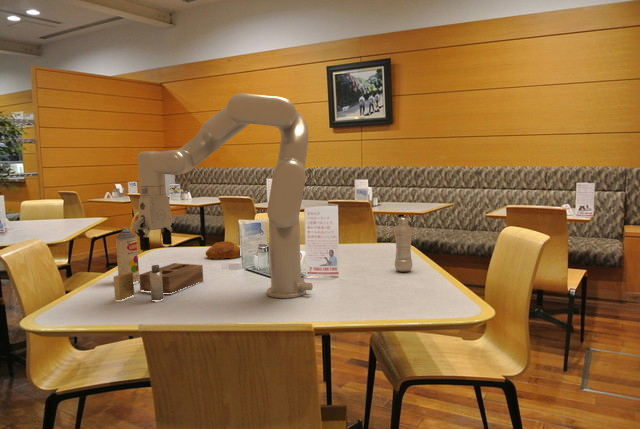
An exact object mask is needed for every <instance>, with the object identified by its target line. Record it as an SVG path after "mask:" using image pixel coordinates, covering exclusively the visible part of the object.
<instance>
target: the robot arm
mask: <svg viewBox="0 0 640 429" xmlns="http://www.w3.org/2000/svg"><path fill="white" fill-rule="evenodd" d="M250 125H259V126H260V125H261V126H270V127H275V128H277V129H278V130H279V132H280V144H279V152H278V156H277V163H276V166H275V167H274V170H273V173H272V178H271V185H270V190H269V191H270V192H269V198H268V204H267V211H266V212H267V218H268V232H269V265H270V285H271V286H270V287H269V288H267V289H266V295H267V296H269V297H271V298H276V299H293V298H297V297H301V296H303V295H305V294H307V291H313V289H314V288H313V284H312V282H306V281H305V277H302V266H301V238H300V237H301V236H300V235H301V234H300V213H301V207H302V202H303V201H302V200H303V194H304V189H305V183H306V170H305V169H306V168H305V167H306V159H307V154H308V147H309V130H308V129H309V128H308V126H307V122H306V120H305V118H304V116H303V115H302V114H301V113H300V112H299V111H298V110H297V109H296V106H295V105H294V103H293V102H292V101H291V100H290V99H288V98H286V97H282V96H275V95H274V96H273V95H265V94H263V95H261V94H255V93H254V94H253V93H245V92H240V93H236V94H234V95H232V96H231V97H230V98H229V100H228V102H227V105H225V106H224V107H223V108H222V109H220V110H219V111H218V112H216V113H215V114H214V115H212V116H211V117H210V118H209V119H207V120H206V121H205V122H203V124H202V125H201V126H200V128H199V130H198V132H197V133H196V134H195V136H193V137H192V138H191V139H190V140H188V141H187V142H186V143H184V145H183V146H181V147H180V148H179V149H178V148H177V149H170V150H163V151H156V150H149V151H147V150H146V151H145V150H144V151H141V152H139V153H138V154H137V168H138V169H137V170H138V183H139V190H138V193H139V195H140V197H139V199H138V214H137V216H138V218H137V220H135V221H134V222H133V223H132V228H133V229H134V233H135V235H136V236H137V237H138V238H139V246H140V247H139V249H140V250H141V251H150V250H151V244H150V243H151V242H150V237H149V233H150V231H157V230H162V231H161V238H162V240H161V241H162V244H163V245H168V246H169V245H170V246H171V245H173V243H172V241H173V240H172V232H173V229H174V228H173V227H174V226H175V221H176V217H175V216H174V215H173V214H172V210H171V204H170V199H169V196H168V195H167V191H166V190H167V189H166V175H170V176H178V175H183V174H187V173H189V172H190V171H191V170H193V169H194V168H195V167H197V166H198V165H200V164H201V163H202V162H203V161H205V160H206V159H207V158H209V157H210V155H212V154H213V153H214V152H216V151H218V150H219V149H221V147H222V146H223V145H224V144H226V143H227V142H229V141H230V140H231V139H232V138H233V137H235V136H236V135H237V134H238V133H240V132H242V131H243V130H244V129H245V128H247V127H248V126H250Z"/></svg>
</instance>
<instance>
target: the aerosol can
mask: <svg viewBox="0 0 640 429" xmlns="http://www.w3.org/2000/svg"><path fill="white" fill-rule="evenodd" d="M137 239H138V238H137V234H134V233H133V232H132V231H131V230H130V229H129V226H123V227H122V230H121V231H120V232H119V233H118V235H117V236H115V246H116V248H115V249H116V262H117V274H118V275H120V274H124V273H127V272H131V273H133V282H136V281H140V278H139V275H140V270H139V269H140V268H139V255H138V241H137Z"/></svg>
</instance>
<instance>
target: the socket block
mask: <svg viewBox="0 0 640 429" xmlns="http://www.w3.org/2000/svg"><path fill="white" fill-rule="evenodd" d="M159 271H162V281H163V293H172V292H175V291H178V290H180V289H183V288H185V287H188V286H191V285H193V284H196V283H198V282H201V281H203V282H204V271H203V265H202V264H192V263H177V262H176V263H175V262H174V263H171V264H168V265H165V266H161V267H159ZM150 272H152V270H150V271H147V272H143V273H139V281H140V282H139V288H140V290H144V291H151V287H150Z"/></svg>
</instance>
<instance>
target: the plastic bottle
mask: <svg viewBox="0 0 640 429" xmlns="http://www.w3.org/2000/svg"><path fill="white" fill-rule="evenodd" d="M397 219H398V220H397V223H398V225H397V226H396V227H395V230H394V240H395V246H396V249H395V251H396V252H395V259H394V268H395V270H396V271H397V272H400V273H401V272H402V273H404V272H405V273H407V272H411V270H412V268H413V259H412V254H411V253H412V251H411V249H412V237H413V235H412V234H413V230H412V228H411V226H410V225H409V224H408V223H409V217H407V216H398V218H397Z"/></svg>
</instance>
